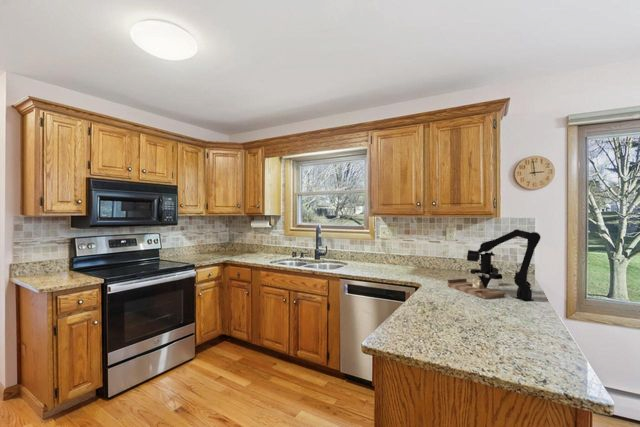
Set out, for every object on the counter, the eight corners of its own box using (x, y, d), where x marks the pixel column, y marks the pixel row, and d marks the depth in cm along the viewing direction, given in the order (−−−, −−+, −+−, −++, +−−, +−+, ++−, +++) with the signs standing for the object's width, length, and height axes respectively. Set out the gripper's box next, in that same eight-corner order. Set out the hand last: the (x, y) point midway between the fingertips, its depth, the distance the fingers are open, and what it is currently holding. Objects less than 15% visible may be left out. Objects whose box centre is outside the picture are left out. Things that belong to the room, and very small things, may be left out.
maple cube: (485, 288, 187) (485, 280, 187) (479, 288, 185) (479, 280, 185) (478, 286, 192) (479, 278, 192) (472, 286, 190) (472, 279, 190)
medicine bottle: (498, 286, 202) (499, 268, 202) (488, 286, 202) (488, 268, 202) (493, 283, 209) (493, 266, 209) (482, 283, 209) (483, 266, 209)
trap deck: (504, 297, 176) (504, 289, 176) (484, 299, 172) (484, 291, 172) (465, 284, 205) (465, 278, 205) (447, 286, 200) (447, 279, 200)
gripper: (509, 264, 178) (509, 290, 178) (483, 259, 195) (483, 283, 195) (495, 265, 174) (494, 291, 174) (470, 260, 192) (469, 284, 192)
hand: (485, 287), depth 184 cm, fingers closed
